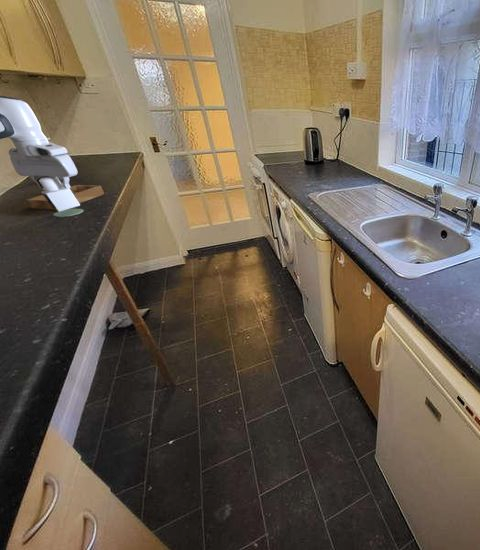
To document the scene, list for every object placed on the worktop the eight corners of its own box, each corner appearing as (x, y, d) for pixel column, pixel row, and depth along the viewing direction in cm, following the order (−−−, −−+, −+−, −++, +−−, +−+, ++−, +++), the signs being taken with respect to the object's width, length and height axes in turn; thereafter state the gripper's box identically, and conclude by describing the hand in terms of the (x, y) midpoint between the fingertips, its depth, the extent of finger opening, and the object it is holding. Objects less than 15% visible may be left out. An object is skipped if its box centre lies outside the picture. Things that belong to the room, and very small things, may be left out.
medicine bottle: (53, 209, 116) (31, 178, 109) (75, 203, 120) (55, 173, 114) (58, 212, 112) (35, 180, 105) (81, 205, 117) (60, 174, 110)
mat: (46, 216, 113) (46, 215, 113) (67, 208, 121) (67, 208, 121) (69, 217, 113) (69, 216, 113) (89, 209, 121) (89, 208, 121)
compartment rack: (30, 209, 120) (25, 199, 117) (79, 193, 139) (75, 185, 137) (59, 210, 119) (54, 200, 117) (104, 194, 139) (100, 185, 137)
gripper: (-4, 149, 102) (20, 189, 109) (54, 150, 102) (74, 190, 109) (15, 146, 108) (37, 185, 115) (70, 148, 107) (88, 186, 114)
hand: (55, 188), depth 112 cm, fingers closed on medicine bottle, 7 cm apart
